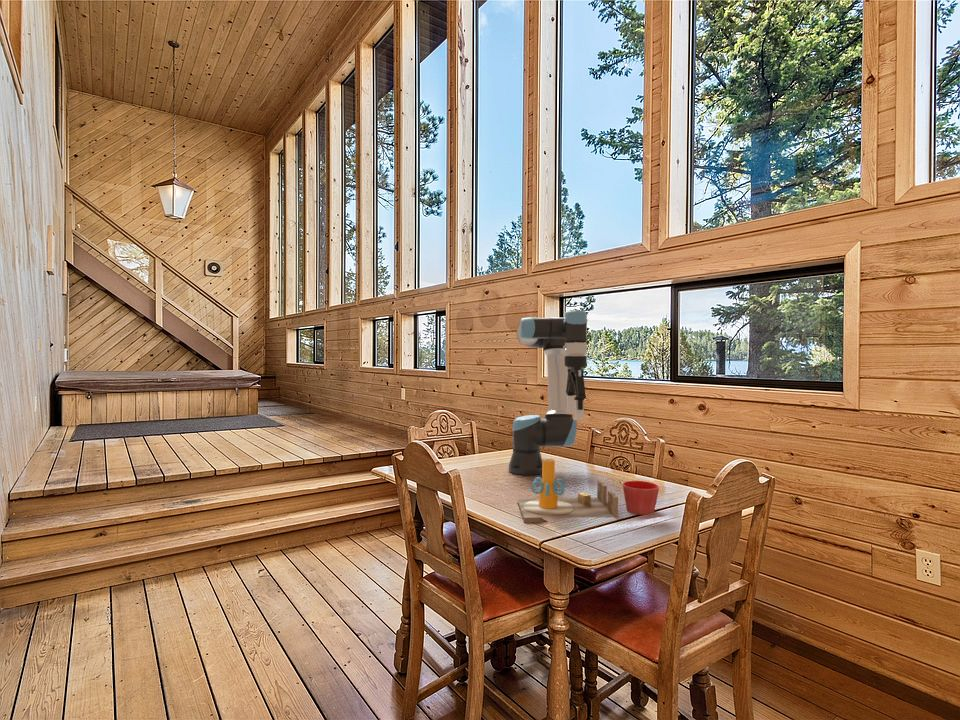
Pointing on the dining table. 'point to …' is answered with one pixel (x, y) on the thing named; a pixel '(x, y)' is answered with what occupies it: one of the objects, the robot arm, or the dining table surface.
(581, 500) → the wooden block
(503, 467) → the dining table surface
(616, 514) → the board
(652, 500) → the flower pot
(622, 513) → the dining table surface
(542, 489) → the cylinder
